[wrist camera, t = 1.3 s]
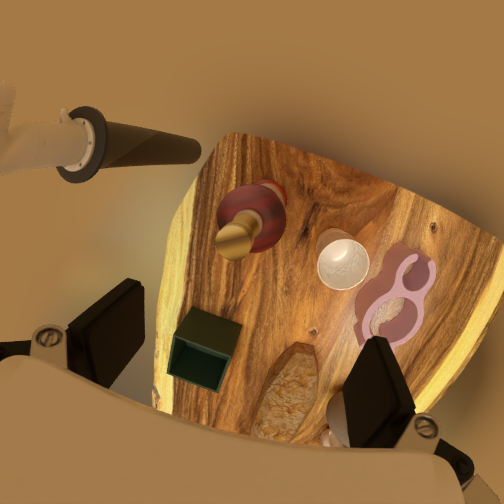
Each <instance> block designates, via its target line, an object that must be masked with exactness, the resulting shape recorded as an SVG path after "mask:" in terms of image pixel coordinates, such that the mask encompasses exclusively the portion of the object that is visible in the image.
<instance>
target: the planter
mask: <svg viewBox="0 0 504 504" xmlns="http://www.w3.org/2000/svg"><path fill="white" fill-rule="evenodd" d="M326 416H327V421H328V425H329V427H330V429H331V431H332V433H333V434H334V435H335V437H336V438H337V439H338V440H339V441H340V442H341V443H343V444H344V445H345V446H347V447H349V448H350V445H349V436H348V428H347V421H346V413H345V406H344V399H343V393H342V391H340V392H338V393H336V394H335V395H333V396H332V397H331V399H330V400H329V402H328V405H327V410H326Z"/></svg>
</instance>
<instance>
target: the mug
mask: <svg viewBox="0 0 504 504" xmlns="http://www.w3.org/2000/svg"><path fill="white" fill-rule="evenodd" d="M320 446H326V447H344V448H349V447H347V446H345V445H344V444H343V443H341V442H340V441H339V440H338V439H337V438H336V437H335V435H334V434H333V433H332V431H331V429H330V428H329V429H327V430H325V431H323V432H322V433H321V435H320Z"/></svg>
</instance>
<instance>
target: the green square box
mask: <svg viewBox="0 0 504 504" xmlns="http://www.w3.org/2000/svg"><path fill="white" fill-rule="evenodd" d="M241 327H242V325H241V324H238V323H235V322H232V321H230V320H227V319H224V318H221V317H219V316H216V315H213V314H210V313H208V312H205V311H202V310H200V309H197V308H195V307H192V308H191V309H190V311H189V312H188V314H187V315H186V317H185V318H184V320H183V321H182V323H181V324H180V325H179V327H178V328H177V330H176V331H175V333H174V334H173V340H172V345H171V351H170V356H169V362H168V368H167V374H169V375H172V376H174V377H177V378H179V379H181V380H184V381H186V382H189V383H192V384H194V385H197V386H199V387H202V388H205V389H208V390H210V391H213V392H216V393H218V392H219V389H220V387H221V384H222V382H223V379H224V376H225V374H226V371H227V369H228V366H229V363H230V361H231V358H232V355H233V352H234V349H235V346H236V343H237V340H238V337H239V334H240V331H241Z"/></svg>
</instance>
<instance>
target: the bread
mask: <svg viewBox="0 0 504 504" xmlns="http://www.w3.org/2000/svg"><path fill="white" fill-rule="evenodd" d="M317 390H318V368H317V359H316V355H315V351H314V347H313V346H312V345H307V344H302V343H297V342H295V343H294V344H293V345H292V346H291V347H290V348H289V349H287V350H286V351H285V352H284V353H283V354H282V355H281V356H280V357H279V358H278V359H277V361H276V362H275V363H274V364H273V366H272V367H271V368H270V369H269V372H268V375H267V378H266V381H265V383H264V386H263V389H262V392H261V394H260V397H259V400H258V402H257V405H256V408H255V410H254V413H253V415H252V421H251V426H250V431H249V436H252V437H257V438H262V439H268V440H274V441H281V442H288V443H290V442H291V441H292V439H293V438H294V436H295V435H296V433H297V432H298V430H299V429H300V427H301V425H302V424H303V422H304V421H305V419H306V417H307V416H308V414H309V412H310V411H311V409H312V407H313V406H314V404H315V402H316V400H317Z"/></svg>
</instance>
